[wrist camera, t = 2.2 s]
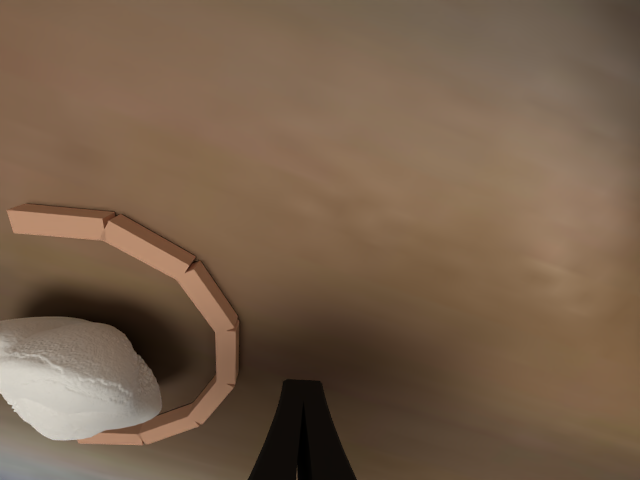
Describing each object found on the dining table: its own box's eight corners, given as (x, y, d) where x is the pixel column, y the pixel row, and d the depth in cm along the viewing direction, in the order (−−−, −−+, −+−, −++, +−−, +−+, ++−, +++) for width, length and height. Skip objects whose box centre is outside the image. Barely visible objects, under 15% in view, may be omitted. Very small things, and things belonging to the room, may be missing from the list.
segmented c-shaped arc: (237, 433, 15) (234, 447, 15) (88, 428, 15) (78, 443, 14) (240, 223, 11) (236, 230, 10) (25, 203, 10) (7, 210, 10)
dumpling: (196, 311, 12) (151, 395, 9) (174, 395, 14) (129, 493, 11) (7, 261, 11) (-137, 336, 8) (10, 361, 13) (-104, 459, 9)
